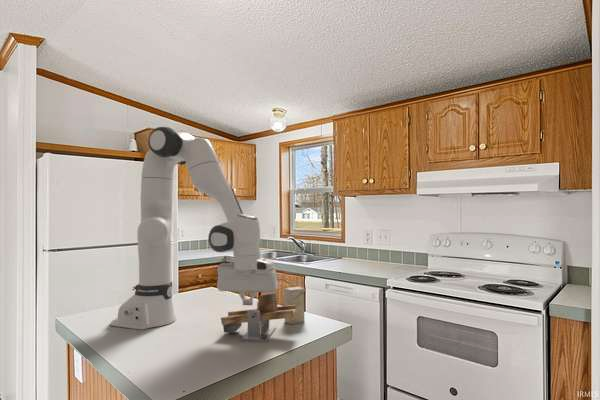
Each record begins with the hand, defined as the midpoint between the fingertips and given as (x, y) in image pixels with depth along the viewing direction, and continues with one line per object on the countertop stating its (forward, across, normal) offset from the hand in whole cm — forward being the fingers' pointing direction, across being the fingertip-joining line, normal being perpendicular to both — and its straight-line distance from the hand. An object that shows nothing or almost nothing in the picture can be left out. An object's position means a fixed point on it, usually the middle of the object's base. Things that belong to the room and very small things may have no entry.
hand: (247, 304), depth 122 cm
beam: (+7, +5, 0) cm, 8 cm away
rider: (+2, +7, 0) cm, 8 cm away
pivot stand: (+10, +4, 0) cm, 10 cm away
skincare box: (+10, +13, +15) cm, 22 cm away
